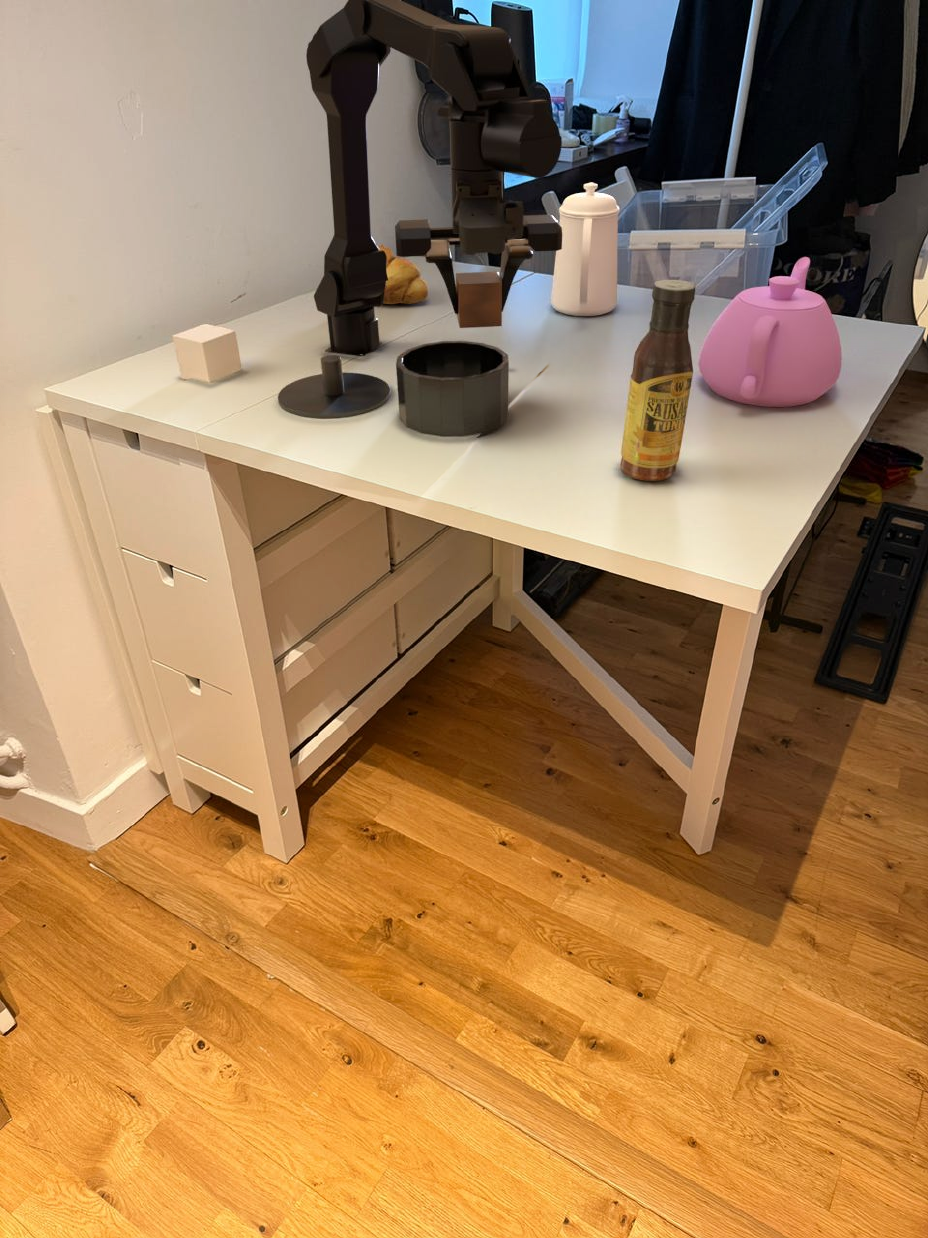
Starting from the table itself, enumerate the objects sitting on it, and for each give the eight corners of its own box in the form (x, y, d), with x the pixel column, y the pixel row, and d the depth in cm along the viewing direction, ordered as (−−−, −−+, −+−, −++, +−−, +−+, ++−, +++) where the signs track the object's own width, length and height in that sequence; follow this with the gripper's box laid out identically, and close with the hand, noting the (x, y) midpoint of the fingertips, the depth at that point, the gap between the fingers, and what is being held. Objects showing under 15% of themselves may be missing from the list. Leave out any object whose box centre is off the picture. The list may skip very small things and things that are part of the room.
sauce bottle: (639, 489, 92) (660, 297, 81) (608, 465, 97) (624, 280, 85) (690, 476, 94) (718, 287, 83) (658, 454, 99) (680, 272, 87)
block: (459, 328, 103) (458, 284, 100) (456, 315, 107) (455, 272, 104) (501, 326, 103) (501, 282, 100) (497, 313, 107) (497, 271, 104)
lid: (257, 413, 111) (249, 370, 108) (315, 374, 122) (310, 334, 119) (357, 429, 106) (353, 385, 103) (409, 387, 117) (407, 346, 114)
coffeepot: (616, 286, 154) (625, 169, 143) (616, 331, 134) (627, 198, 123) (554, 285, 156) (559, 169, 145) (546, 329, 136) (550, 198, 125)
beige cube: (210, 386, 119) (201, 342, 115) (181, 378, 122) (171, 335, 118) (242, 372, 123) (235, 330, 119) (213, 365, 126) (205, 323, 122)
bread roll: (439, 299, 150) (438, 250, 145) (403, 313, 144) (400, 263, 139) (383, 288, 156) (380, 241, 152) (346, 301, 150) (341, 252, 145)
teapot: (819, 429, 104) (846, 312, 96) (674, 405, 110) (688, 294, 102) (849, 362, 122) (874, 259, 114) (722, 345, 128) (738, 247, 120)
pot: (381, 431, 106) (377, 371, 101) (427, 392, 116) (425, 335, 111) (484, 447, 101) (483, 385, 97) (522, 405, 111) (523, 347, 107)
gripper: (391, 183, 88) (401, 337, 97) (574, 176, 89) (566, 329, 98) (391, 165, 97) (400, 307, 106) (556, 159, 98) (551, 301, 107)
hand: (478, 312), depth 104 cm, fingers closed on block, 5 cm apart
